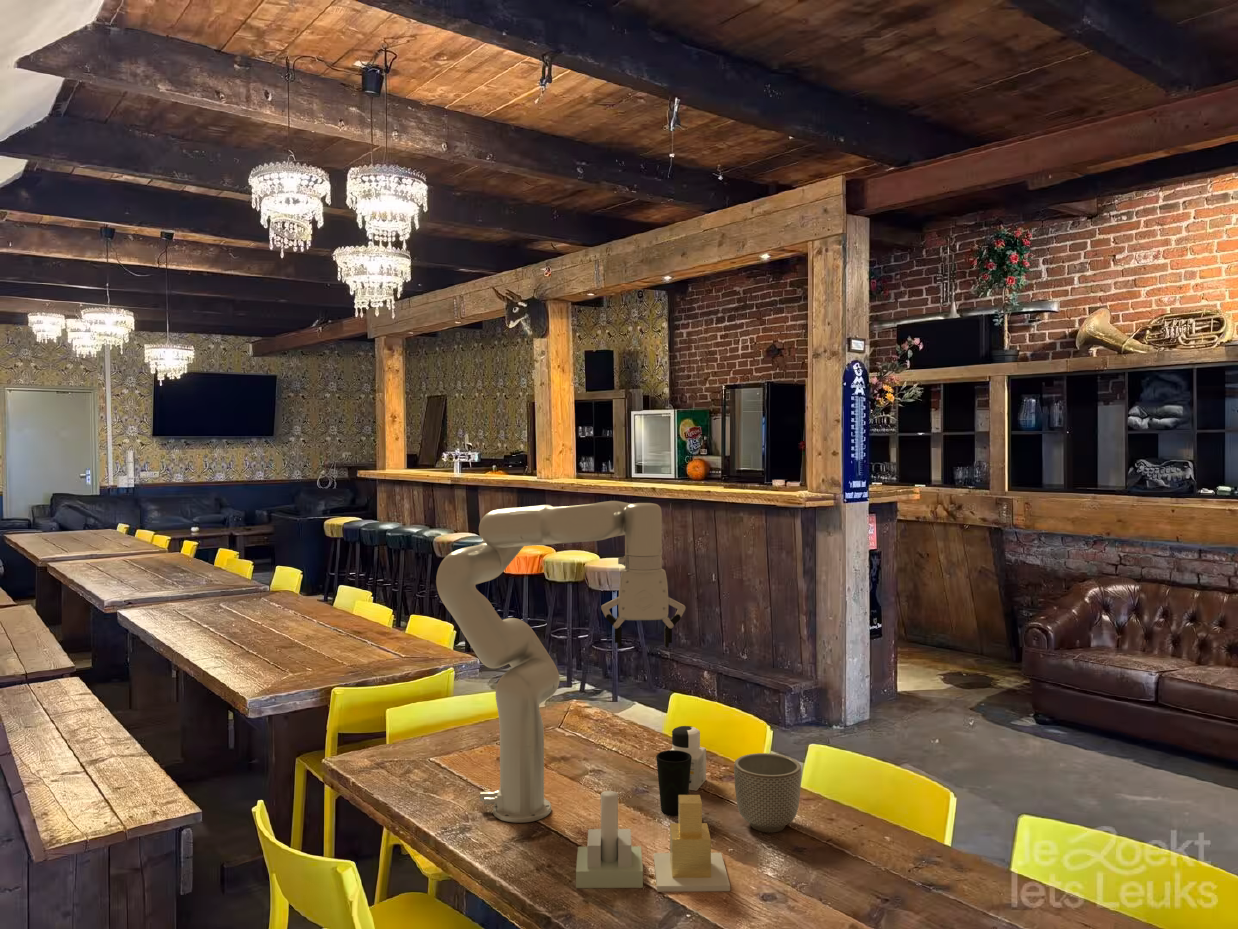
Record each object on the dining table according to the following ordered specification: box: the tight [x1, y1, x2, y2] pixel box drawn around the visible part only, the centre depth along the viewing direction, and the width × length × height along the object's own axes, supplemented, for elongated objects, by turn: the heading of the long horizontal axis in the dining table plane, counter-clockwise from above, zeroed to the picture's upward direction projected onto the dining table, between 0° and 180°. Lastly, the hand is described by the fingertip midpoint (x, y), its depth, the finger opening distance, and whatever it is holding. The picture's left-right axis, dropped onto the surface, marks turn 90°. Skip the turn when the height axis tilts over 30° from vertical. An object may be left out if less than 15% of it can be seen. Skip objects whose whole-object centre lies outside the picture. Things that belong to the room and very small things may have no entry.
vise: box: [575, 790, 644, 889], centre depth 166 cm, size 12×10×15 cm
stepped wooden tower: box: [669, 794, 712, 878], centre depth 166 cm, size 7×7×13 cm
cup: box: [655, 749, 692, 817], centre depth 195 cm, size 8×8×12 cm
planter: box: [733, 752, 802, 833], centre depth 187 cm, size 14×14×13 cm
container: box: [670, 725, 707, 792], centre depth 211 cm, size 8×8×13 cm
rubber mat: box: [653, 852, 731, 893], centre depth 166 cm, size 13×13×1 cm
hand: (643, 646), depth 184 cm, fingers open, 9 cm apart
